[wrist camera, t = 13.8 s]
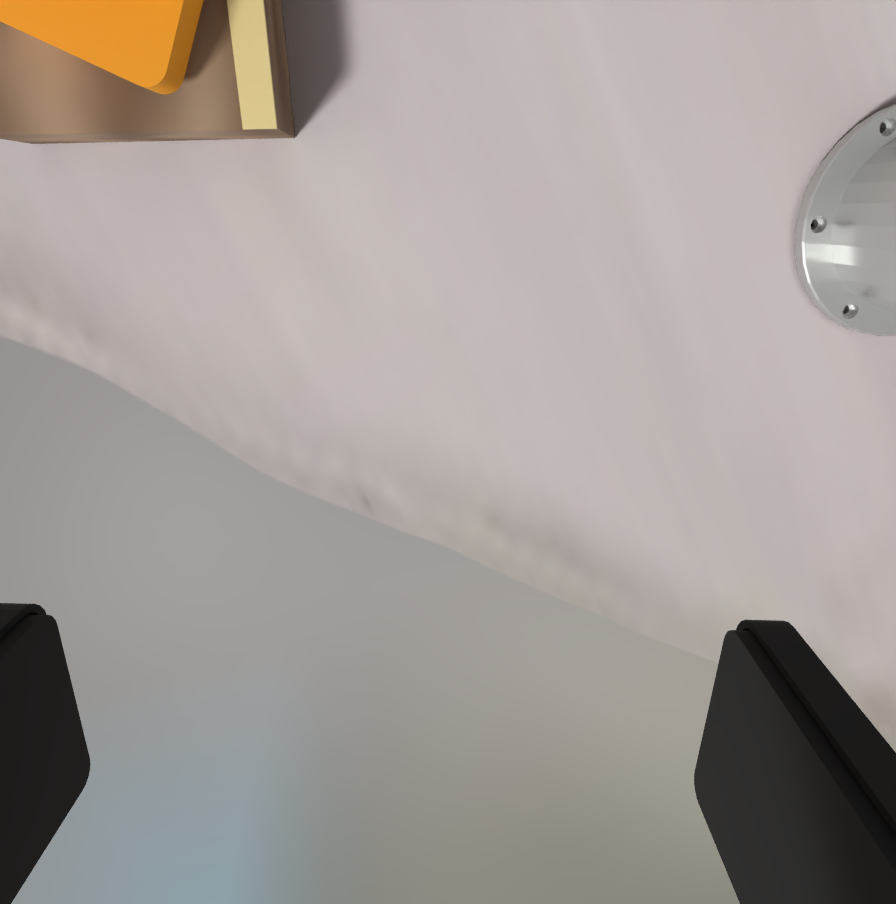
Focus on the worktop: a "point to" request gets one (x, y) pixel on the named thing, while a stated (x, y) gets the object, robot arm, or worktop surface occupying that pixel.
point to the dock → (144, 111)
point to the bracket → (116, 34)
